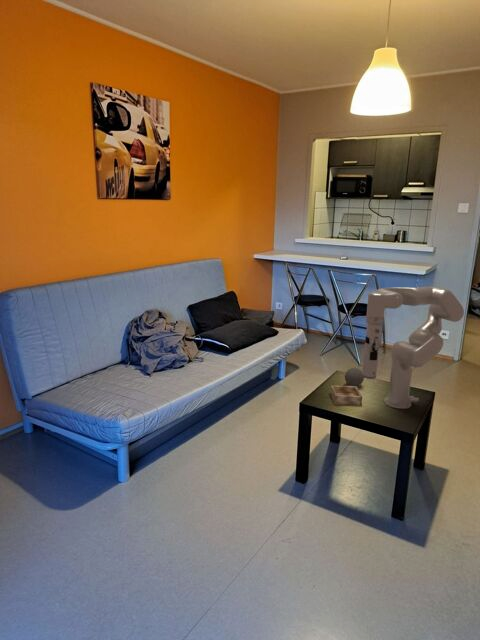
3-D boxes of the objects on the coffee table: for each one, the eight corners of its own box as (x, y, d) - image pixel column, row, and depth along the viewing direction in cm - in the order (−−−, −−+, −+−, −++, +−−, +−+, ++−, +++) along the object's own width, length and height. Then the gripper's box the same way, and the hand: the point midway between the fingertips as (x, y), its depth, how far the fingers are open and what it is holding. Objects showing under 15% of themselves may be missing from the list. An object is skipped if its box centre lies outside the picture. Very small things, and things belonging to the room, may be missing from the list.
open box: (355, 394, 231) (356, 386, 230) (361, 405, 218) (362, 396, 217) (330, 393, 231) (330, 385, 230) (334, 404, 218) (335, 396, 217)
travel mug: (377, 379, 205) (381, 338, 200) (362, 378, 206) (366, 337, 201) (376, 374, 211) (380, 334, 206) (361, 373, 212) (365, 333, 207)
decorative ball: (351, 380, 249) (353, 363, 246) (366, 386, 241) (368, 369, 239) (340, 385, 243) (341, 367, 240) (355, 391, 235) (357, 373, 233)
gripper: (388, 324, 193) (384, 364, 198) (377, 315, 210) (374, 351, 215) (371, 324, 193) (367, 363, 198) (361, 314, 210) (358, 351, 215)
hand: (371, 357), depth 206 cm, fingers closed on travel mug, 6 cm apart
